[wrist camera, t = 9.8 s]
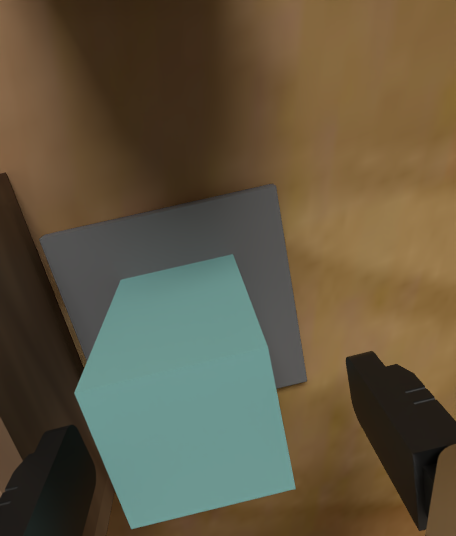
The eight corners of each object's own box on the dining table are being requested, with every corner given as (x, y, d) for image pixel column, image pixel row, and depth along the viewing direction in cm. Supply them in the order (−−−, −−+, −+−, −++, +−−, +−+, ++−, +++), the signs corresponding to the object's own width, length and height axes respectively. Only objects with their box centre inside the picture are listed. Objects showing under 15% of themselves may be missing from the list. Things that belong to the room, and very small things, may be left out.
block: (232, 254, 16) (267, 347, 9) (253, 350, 17) (295, 488, 11) (120, 279, 16) (74, 392, 9) (151, 374, 17) (131, 529, 11)
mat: (272, 183, 15) (275, 185, 15) (303, 373, 19) (307, 381, 18) (44, 234, 15) (39, 239, 15) (114, 418, 18) (112, 427, 18)
